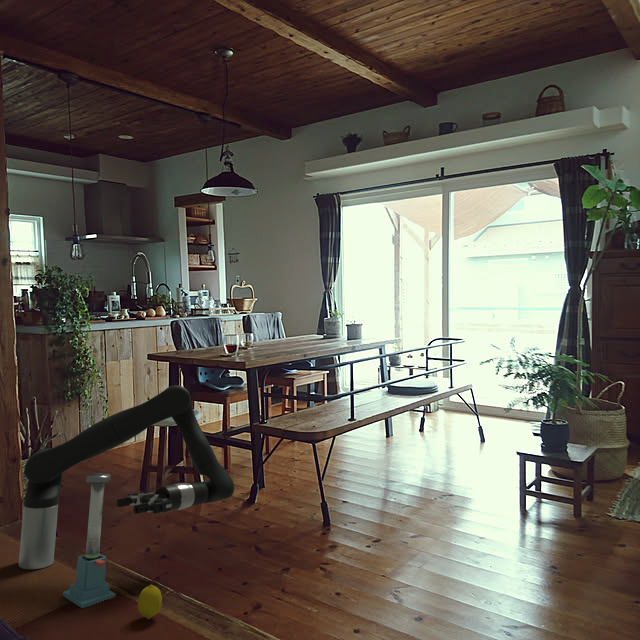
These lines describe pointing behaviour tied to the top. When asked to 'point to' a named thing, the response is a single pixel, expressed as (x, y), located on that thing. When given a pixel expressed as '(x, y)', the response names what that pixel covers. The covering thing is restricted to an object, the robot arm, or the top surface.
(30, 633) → the top surface
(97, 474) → the column
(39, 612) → the top surface
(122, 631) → the top surface
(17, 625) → the top surface
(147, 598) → the lemon
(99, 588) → the stand base
